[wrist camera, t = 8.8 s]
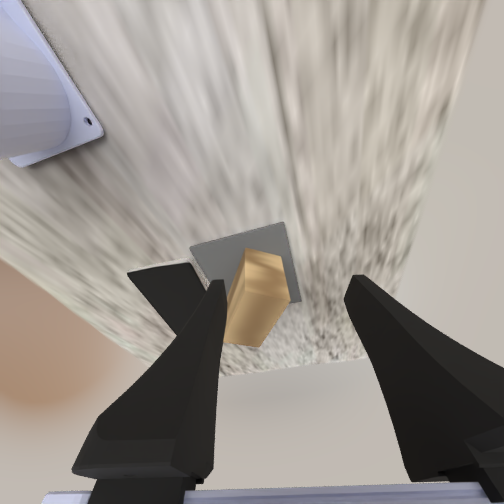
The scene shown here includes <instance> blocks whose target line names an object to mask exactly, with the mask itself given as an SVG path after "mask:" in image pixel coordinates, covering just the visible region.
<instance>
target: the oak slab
mask: <svg viewBox="0 0 504 504" xmlns="http://www.w3.org/2000/svg"><path fill="white" fill-rule="evenodd" d="M290 301H291V300H290V295H289V291H288V286H287V282H286V277H285V273H284V268H283V264H282V259H281V256H277V255H273V254H269V253H265V252H262V251H258V250H254V249H250V248H246V247H245V250H244V253H243V255H242V258H241V261H240V264H239V266H238V269H237V272H236V274H235V277H234V280H233V282H232V285H231V288H230V290H229V293H228V296H227V302H228V305H227V321H226V328H225V334H224V340H223V342H225V343H232V344H239V345H246V346H252V347H260V346H261V344H262V343H263V341H264V340H265V338H266V337H267V335H268V334H269V332H270V331H271V329H272V328H273V326H274V325H275V323H276V322H277V320H278V319H279V317H280V316H281V314H282V313H283V311H284V310H285V308H286V307H287V305H288V304H289V302H290Z"/></svg>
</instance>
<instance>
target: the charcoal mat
mask: <svg viewBox="0 0 504 504" xmlns="http://www.w3.org/2000/svg"><path fill="white" fill-rule="evenodd" d="M245 247H246V248H250V249H254V250H258V251H262V252H265V253H269V254H273V255H277V256H281V259H282V264H283V268H284V273H285V277H286V282H287V286H288V291H289V295H290V300H291V301H290V302H289V304H290V303H295V302H300V301H301V296H300V292H299V287H298V283H297V279H296V274H295V270H294V265H293V261H292V257H291V252H290V248H289V243H288V239H287V234H286V230H285V226H284V222H281V223H277V224H273V225H269V226H266V227H262V228H258V229H254V230H251V231H247V232H243V233H240V234H236V235H232V236H228V237H225V238H221V239H217V240H213V241H210V242H206V243H202V244H198V245H195V246H191V247H190V251H191V252H192V254H193V256H194V257H195V259H196V261H197V262H198V264H199V266H200V267H201V269H202V270H203V272H204V274H205V275H206V277H207V279H208V280H209V282H210V283H211V281H212V280H216V279H224V283H225V290H226V296H228V293H229V290H230V288H231V285H232V282H233V280H234V277H235V274H236V272H237V269H238V266H239V264H240V261H241V258H242V255H243V253H244V250H245Z"/></svg>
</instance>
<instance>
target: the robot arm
mask: <svg viewBox="0 0 504 504" xmlns="http://www.w3.org/2000/svg"><path fill="white" fill-rule="evenodd" d="M87 118H89V119H90V120H91V122H92V125H90V124H89V123H88V121H87ZM103 134H104V130H103V128H102V126H101V125H100V123H99V121H98V120H97V118H96V117H95V115H94V114H93V112H92V111H91V109H90V107H89V106H88V104H87V103H86V101H85V100H84V98H83V97H82V95H81V93H80V92H79V90H78V89H77V87H76V86H75V84H74V83H73V81H72V79H71V78H70V76H69V75H68V73H67V72H66V70H65V68H64V67H63V65H62V64H61V62H60V61H59V59H58V58H57V56H56V54H55V53H54V51H53V50H52V48H51V47H50V45H49V44H48V42H47V40H46V39H45V37H44V36H43V34H42V33H41V31H40V29H39V28H38V26H37V25H36V23H35V22H34V20H33V19H32V17H31V15H30V14H29V12H28V11H27V9H26V8H25V6H24V5H23V3H22V1H21V0H0V160H2V159H6V158H8V159H9V160H10V161H11V162H12V163H13V164H15V165H16V166H18V167H26V166H29V165H32V164H34V163H37V162H39V161H42V160H44V159H47V158H49V157H52V156H54V155H57V154H60V153H62V152H65V151H67V150H70V149H72V148H75V147H77V146H80V145H82V144H85V143H87V142H90V141H92V140H95V139H98V138H100V137H102V136H103ZM344 302H345V305H346V309H347V311H348V314H349V317H350V319H351V321H352V323H353V325H354V327H355V330H356V332H357V334H358V336H359V338H360V340H361V342H362V344H363V346H364V348H365V350H366V352H367V354H368V356H369V358H370V361H371V363H372V365H373V368H374V371H375V373H376V376H377V379H378V381H379V384H380V387H381V390H382V393H383V395H384V398H385V401H386V404H387V407H388V410H389V414H390V417H391V420H392V423H393V426H394V430H395V433H396V437H397V440H398V444H399V447H400V451H401V455H402V459H403V463H404V466H405V469H406V471H407V473H408V476H409V478H410V480H411V482H437V481H449V482H450V483H423V484H391V485H358V486H324V487H294V488H293V487H292V488H259V489H228V490H195V487H196V484H203V483H204V478H207V476H208V475H209V474H210V472H211V471H212V470H213V464H214V443H215V423H216V406H217V391H218V378H219V366H220V358H221V352H222V346H223V340H224V334H225V328H226V321H227V305H228V302H227V296H226V290H225V283H224V279H216V280H212V281H211V283H210V285H209V287H208V289H207V291H206V293H205V294H204V296H203V298H202V300H201V301H200V303H199V305H198V306H197V308H196V309H195V311H194V313H193V314H192V316H191V317H190V319H189V320H188V321H187V323H186V324H185V326H184V327H183V329H182V330H181V331H180V333H179V334H178V335H177V336H176V338H175V339H174V340H173V341H172V343H171V344H170V345H169V346H168V347H167V349H166V350H165V351H164V352H163V353H162V354H161V356H160V357H159V358H158V359H157V360H156V361H155V362H154V363H153V364H152V366H151V367H150V368H149V369H148V370H147V371H146V372H145V373H144V374H143V375H142V376H141V377H140V378H139V379H138V380H137V381H136V382H135V383H134V384H133V385H132V386H131V387H130V388H129V389H128V390H127V391H126V392H124V393H123V394H122V395H121V396H120V397H119V398H118V399H117V400H116V401H115V402H114V403H112V404H111V405H110V406H109V407H108V408H107V409H106V410H105V411H104V412H103V413H102V414H100V415H99V416H98V418H97V420H96V422H95V423H94V425H93V427H92V428H91V430H90V432H89V434H88V436H87V438H86V440H85V442H84V444H83V446H82V448H81V450H80V452H79V454H78V456H77V459H76V461H75V463H74V465H73V467H72V473H74V474H76V475H79V476H84V477H88V478H93V479H97V481H96V484H95V486H94V488H93V491H55V492H49V493H47V494H46V495H45V497H44V499H43V501H42V503H41V504H504V368H503V367H501V366H499V365H497V364H495V363H493V362H491V361H489V360H488V359H486V358H484V357H482V356H480V355H478V354H477V353H475V352H473V351H472V350H470V349H468V348H466V347H465V346H463V345H461V344H459V343H458V342H456V341H455V340H453V339H451V338H449V337H448V336H446V335H445V334H443V333H442V332H440V331H439V330H437V329H436V328H434V327H432V326H431V325H429V324H428V323H426V322H425V321H424V320H422V319H421V318H419V317H418V316H417V315H415V314H414V313H412V312H411V311H410V310H408V309H407V308H405V307H404V306H403V305H402V304H400V303H399V302H398V301H396V300H395V299H394V298H393V297H391V296H390V295H389V294H388V293H386V292H385V291H384V290H383V289H381V288H380V287H379V286H378V285H376V284H375V283H374V282H373V281H371V280H370V279H369V278H368V277H366V276H365V275H353V276H352V278H351V281H350V284H349V286H348V289H347V291H346V294H345V297H344Z"/></svg>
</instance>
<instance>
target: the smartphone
mask: <svg viewBox="0 0 504 504" xmlns="http://www.w3.org/2000/svg"><path fill="white" fill-rule="evenodd" d="M127 275H128V277H129V279H130V280H131V281H132V282H133V283H134V285H135V286H136V287H137V288H138V289H139V291H140V292H141V293H142V294H143V295H144V297H145V298H146V299H147V300H148V301H149V303H150V304H151V305H152V306H153V307H154V309H155V310H156V311H157V312H158V313H159V315H160V316H161V317H162V318H163V319H164V321H165V322H166V323H167V324H168V325H169V327H170V328H171V329H172V330H173V331H174V333H175V334H176V335H178V334H179V333H180V331H181V330H182V329H183V327H184V326H185V324H186V323H187V321H188V320H189V319H190V317H191V316H192V314H193V313H194V311H195V309H196V308H197V306H198V305H199V303H200V301H201V300H202V298H203V296H204V294H205V293H206V291H207V289H208V288H207V286H206V284H205V282H204V281H203V279H202V277H201V275H200V273H199V271H198V269H197V268H196V266H195V264H194V262H193V260H191V259H190V258H189V257H186V258H182V259H177V260H172V261H167V262H162V263H157V264H153V265H148V266H143V267H138V268H133V269H130V270H129V271H128V272H127Z"/></svg>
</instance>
